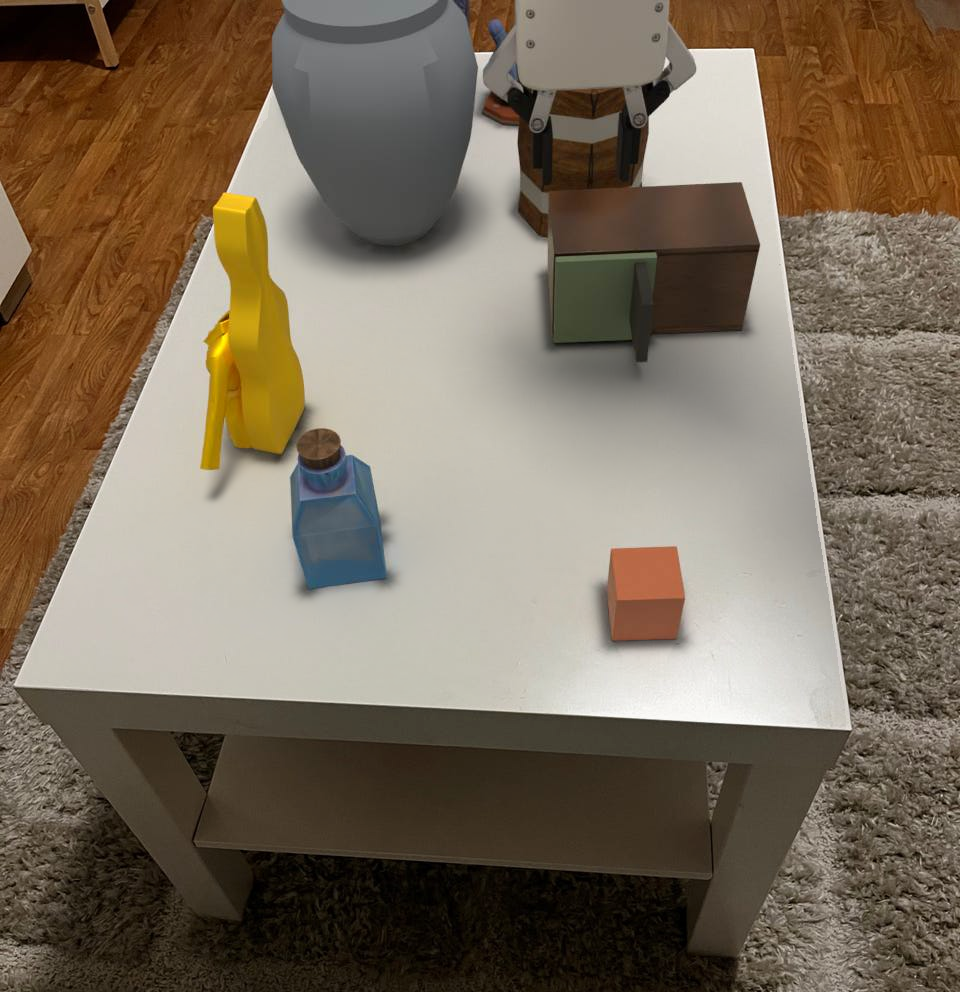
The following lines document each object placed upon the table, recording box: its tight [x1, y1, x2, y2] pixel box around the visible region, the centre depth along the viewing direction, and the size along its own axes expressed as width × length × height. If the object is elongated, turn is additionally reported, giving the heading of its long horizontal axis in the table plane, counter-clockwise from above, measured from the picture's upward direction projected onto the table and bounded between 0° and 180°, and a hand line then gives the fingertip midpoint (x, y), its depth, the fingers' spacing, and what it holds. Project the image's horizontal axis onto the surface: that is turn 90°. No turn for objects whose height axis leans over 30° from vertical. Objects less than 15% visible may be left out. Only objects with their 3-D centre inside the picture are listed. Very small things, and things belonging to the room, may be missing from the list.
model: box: [481, 18, 519, 127], centre depth 114 cm, size 12×9×9 cm
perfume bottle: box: [289, 427, 388, 590], centre depth 73 cm, size 6×6×12 cm
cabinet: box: [546, 181, 761, 339], centre depth 91 cm, size 18×10×9 cm, turn 90°
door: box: [553, 252, 657, 364], centre depth 86 cm, size 9×7×9 cm
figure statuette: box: [199, 192, 306, 471], centre depth 78 cm, size 18×8×22 cm, turn 166°
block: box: [606, 545, 686, 642], centre depth 71 cm, size 5×5×5 cm
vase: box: [271, 0, 479, 246], centre depth 95 cm, size 20×20×24 cm
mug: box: [516, 64, 650, 238], centre depth 101 cm, size 20×14×15 cm
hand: (584, 171), depth 73 cm, fingers open, 5 cm apart
